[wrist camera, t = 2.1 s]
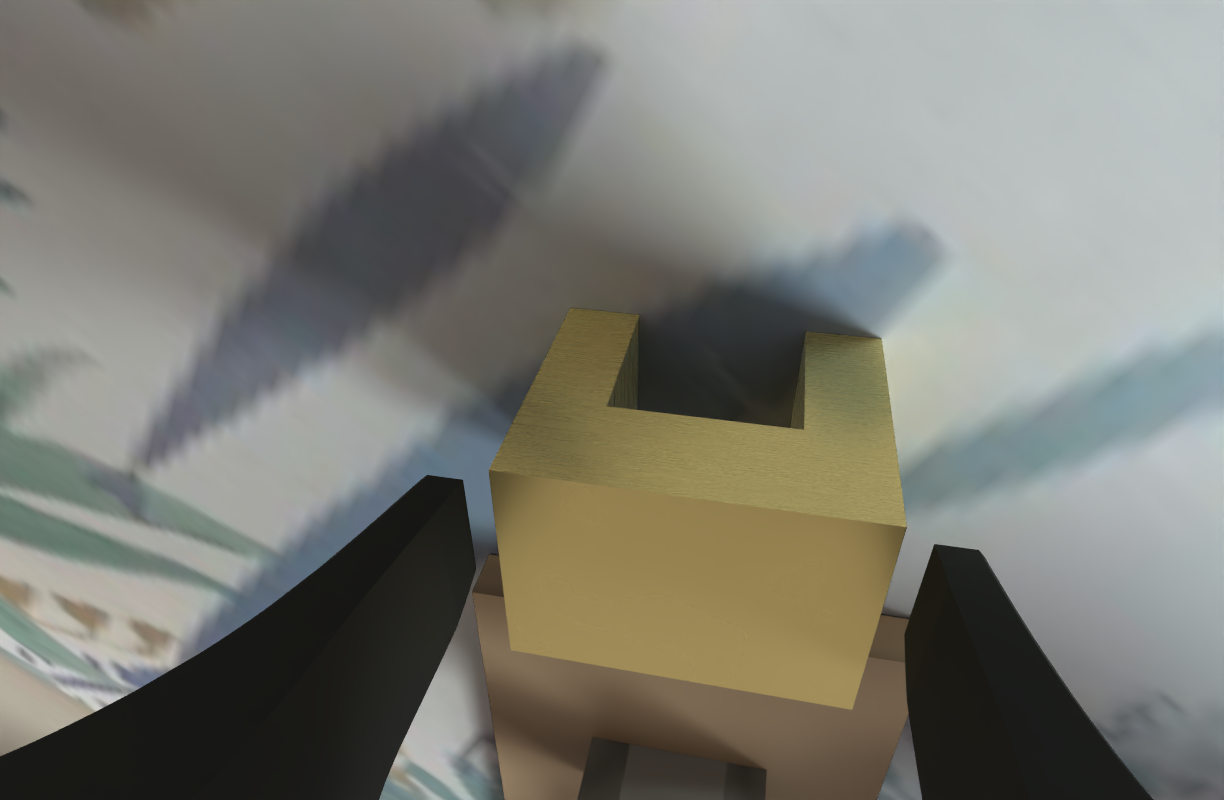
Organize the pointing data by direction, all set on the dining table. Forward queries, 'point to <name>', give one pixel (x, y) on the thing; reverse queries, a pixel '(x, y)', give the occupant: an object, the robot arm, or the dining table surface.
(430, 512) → the robot arm
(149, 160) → the dining table surface
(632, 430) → the spacer
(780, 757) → the shaft bracket
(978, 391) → the dining table surface
